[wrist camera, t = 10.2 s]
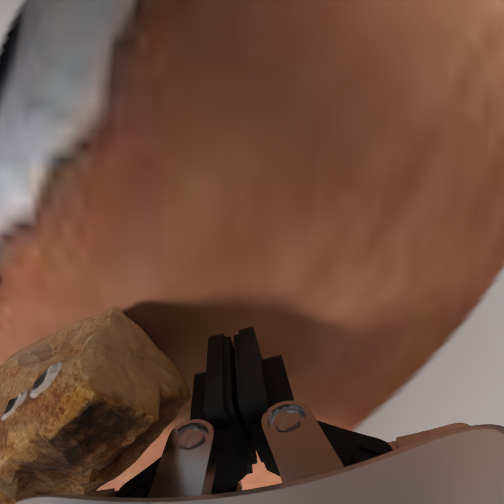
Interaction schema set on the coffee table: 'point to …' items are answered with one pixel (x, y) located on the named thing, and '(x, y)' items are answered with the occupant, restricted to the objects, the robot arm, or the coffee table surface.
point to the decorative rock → (83, 407)
